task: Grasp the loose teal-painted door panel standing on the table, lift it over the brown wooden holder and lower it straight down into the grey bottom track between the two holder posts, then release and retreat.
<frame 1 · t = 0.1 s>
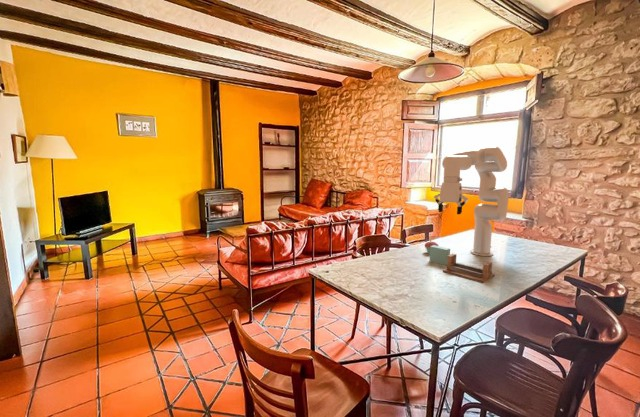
hand: (449, 213, 155), 31 cm above the table, fingers open, 9 cm apart
door panel: (439, 262, 172), on the table
cupcake: (431, 253, 191), on the table
brown wooden holder: (468, 273, 154), on the table
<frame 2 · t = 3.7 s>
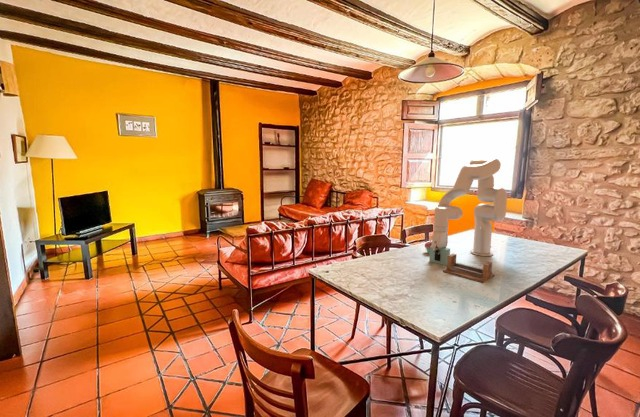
hand: (439, 259, 172), 2 cm above the table, fingers closed on door panel, 4 cm apart
door panel: (439, 262, 172), on the table, touching gripper
everything else where it was.
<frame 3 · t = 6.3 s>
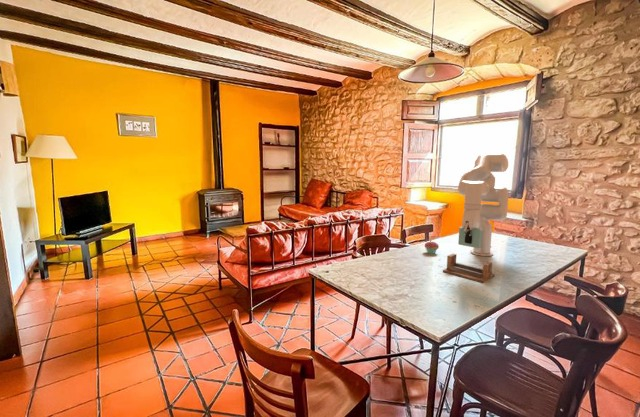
hand: (470, 242, 152), 17 cm above the table, fingers closed on door panel, 4 cm apart
door panel: (469, 245, 152), point 15 cm above the table, touching gripper
everything else where it was.
when the fingers open (4 cm above the table, at t = 9.3 s): door panel drops 1 cm, resting on brown wooden holder.
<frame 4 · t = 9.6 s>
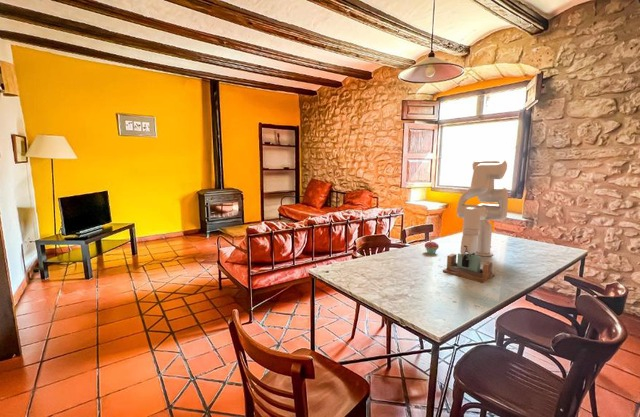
hand: (468, 264, 153), 5 cm above the table, fingers open, 7 cm apart
door panel: (468, 271, 154), point 1 cm above the table, touching brown wooden holder
everything else where it was.
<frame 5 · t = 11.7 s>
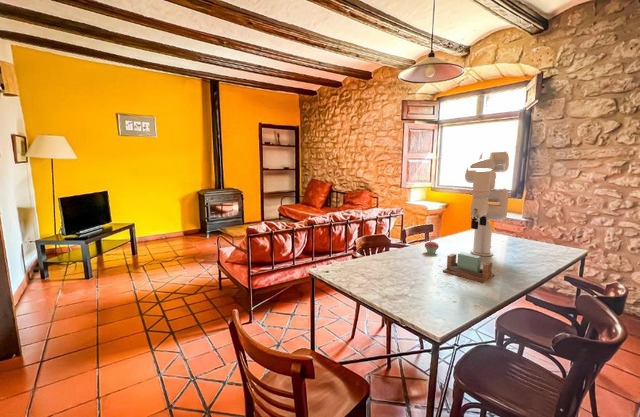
hand: (478, 227, 155), 24 cm above the table, fingers open, 9 cm apart
nothing on the table moved.
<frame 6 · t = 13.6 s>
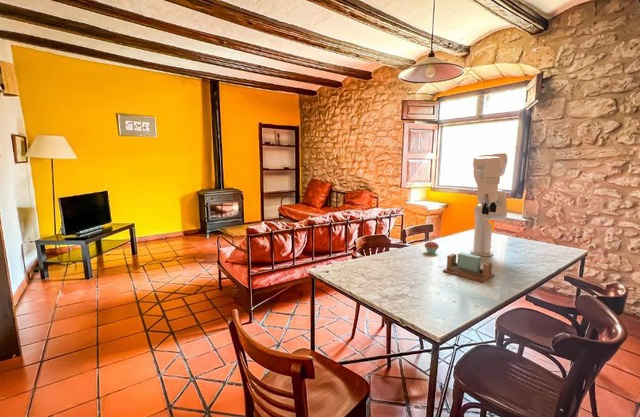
hand: (488, 213, 158), 30 cm above the table, fingers open, 9 cm apart
nothing on the table moved.
at the end: door panel inside the target area on the brown wooden holder (0.1 cm from its centre), point 1.0 cm above the brown wooden holder's base; door panel tilted 0°; the gripper is holding nothing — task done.
